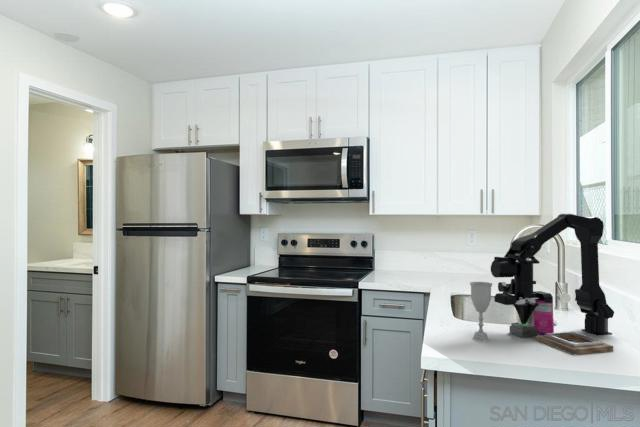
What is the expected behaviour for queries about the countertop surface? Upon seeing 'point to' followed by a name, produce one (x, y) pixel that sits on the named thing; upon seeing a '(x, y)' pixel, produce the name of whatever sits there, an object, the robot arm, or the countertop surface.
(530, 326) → the control block
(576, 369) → the countertop surface
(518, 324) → the button
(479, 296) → the chalice
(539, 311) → the supplement box
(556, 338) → the wooden picture frame
